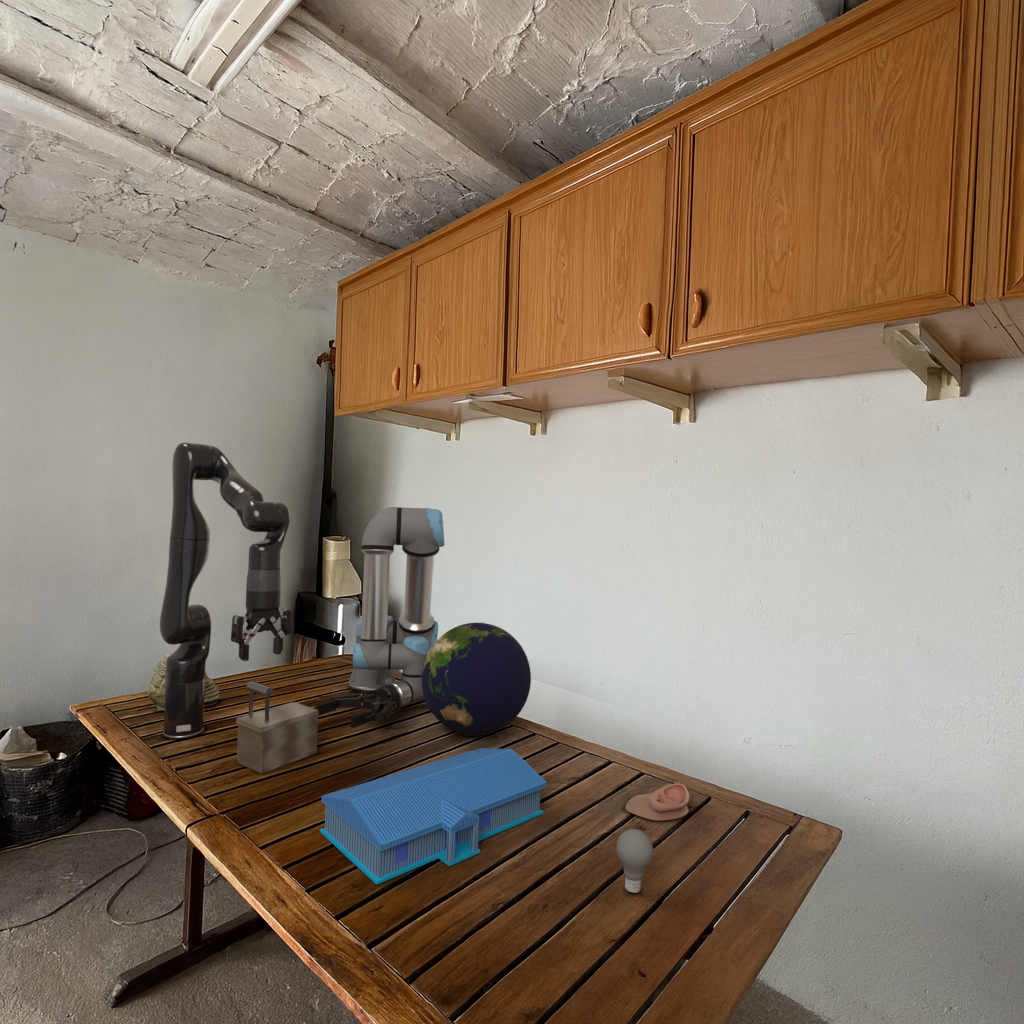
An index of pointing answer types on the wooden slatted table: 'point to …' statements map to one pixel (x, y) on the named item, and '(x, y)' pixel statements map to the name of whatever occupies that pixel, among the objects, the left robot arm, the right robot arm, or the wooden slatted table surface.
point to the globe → (476, 679)
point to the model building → (431, 811)
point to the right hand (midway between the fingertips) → (333, 716)
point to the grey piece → (272, 711)
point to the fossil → (158, 687)
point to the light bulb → (634, 857)
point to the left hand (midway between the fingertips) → (261, 657)
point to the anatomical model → (661, 803)
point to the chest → (277, 745)
